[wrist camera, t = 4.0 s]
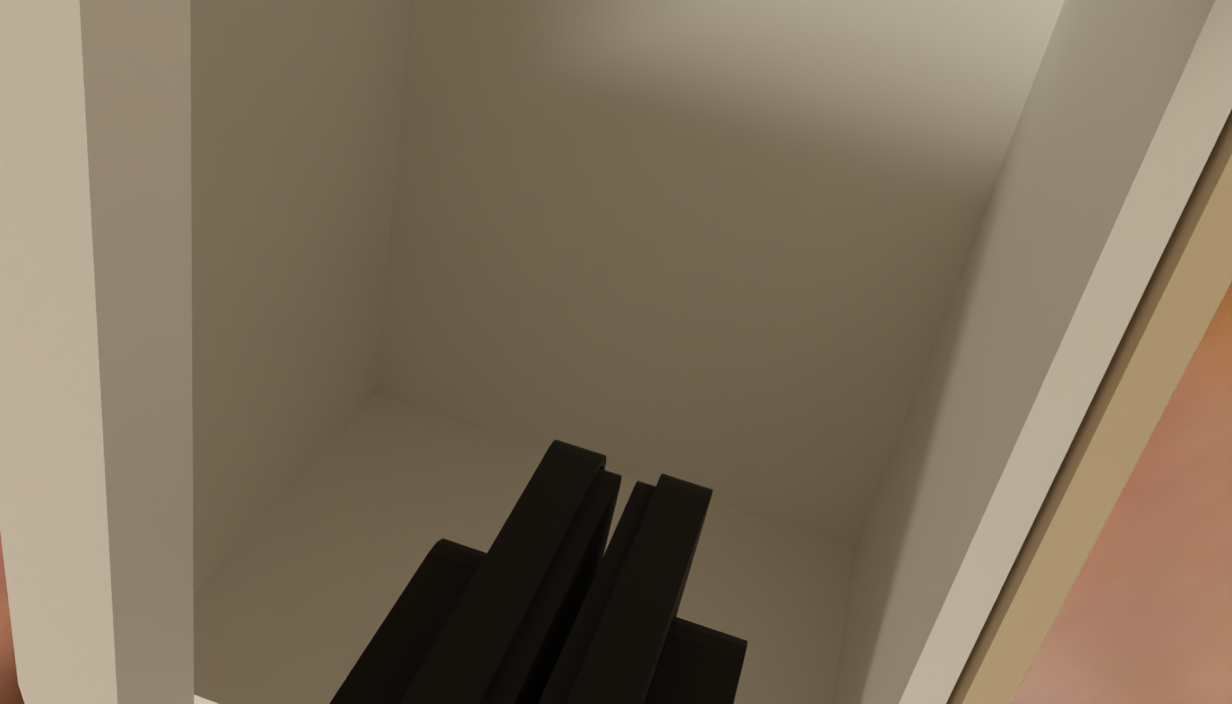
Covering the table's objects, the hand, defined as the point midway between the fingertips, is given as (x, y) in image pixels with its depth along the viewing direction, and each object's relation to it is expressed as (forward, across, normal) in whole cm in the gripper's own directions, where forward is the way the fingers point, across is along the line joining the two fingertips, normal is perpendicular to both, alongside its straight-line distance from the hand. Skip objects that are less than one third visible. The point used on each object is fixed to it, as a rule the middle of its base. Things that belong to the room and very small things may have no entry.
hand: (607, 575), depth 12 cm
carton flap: (+1, +7, 0) cm, 7 cm away
